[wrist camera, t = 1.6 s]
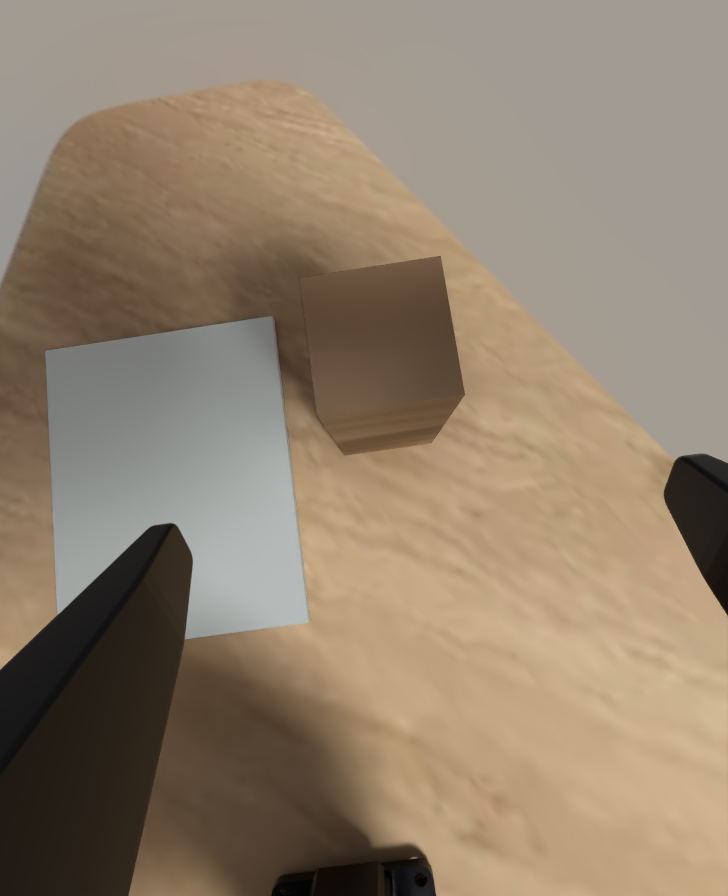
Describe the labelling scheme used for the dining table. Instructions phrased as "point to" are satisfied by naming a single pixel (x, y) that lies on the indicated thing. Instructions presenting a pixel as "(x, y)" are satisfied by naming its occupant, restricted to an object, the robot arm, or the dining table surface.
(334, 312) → the walnut block
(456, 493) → the dining table surface
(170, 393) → the mat
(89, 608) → the robot arm
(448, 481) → the dining table surface
